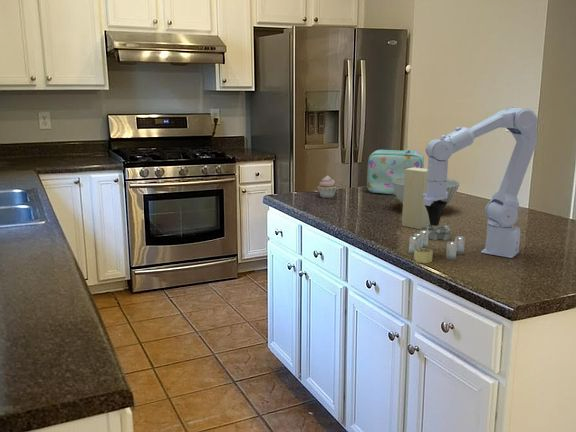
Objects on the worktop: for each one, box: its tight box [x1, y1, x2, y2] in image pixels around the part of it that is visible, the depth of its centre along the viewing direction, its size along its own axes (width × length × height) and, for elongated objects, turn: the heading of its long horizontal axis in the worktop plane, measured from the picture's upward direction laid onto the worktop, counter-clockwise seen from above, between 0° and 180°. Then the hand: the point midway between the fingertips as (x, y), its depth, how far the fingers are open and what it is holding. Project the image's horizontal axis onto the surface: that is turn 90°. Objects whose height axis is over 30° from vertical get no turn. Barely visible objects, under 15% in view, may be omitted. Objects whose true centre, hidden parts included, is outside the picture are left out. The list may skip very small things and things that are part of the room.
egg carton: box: [425, 222, 451, 241], centre depth 195 cm, size 11×8×4 cm
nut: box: [413, 247, 434, 264], centre depth 168 cm, size 5×5×3 cm
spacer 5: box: [454, 235, 466, 255], centre depth 175 cm, size 3×3×5 cm
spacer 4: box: [445, 240, 457, 261], centre depth 170 cm, size 3×3×5 cm
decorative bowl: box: [391, 177, 460, 205], centre depth 233 cm, size 27×27×12 cm
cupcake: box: [316, 175, 339, 199], centre depth 260 cm, size 9×9×10 cm
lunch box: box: [366, 148, 426, 196], centre depth 267 cm, size 27×10×21 cm, turn 72°
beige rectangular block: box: [401, 167, 430, 230], centre depth 207 cm, size 8×7×21 cm
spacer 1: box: [408, 235, 419, 255], centre depth 175 cm, size 3×3×5 cm
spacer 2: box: [413, 232, 423, 248], centre depth 179 cm, size 3×3×5 cm
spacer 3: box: [419, 229, 429, 248], centre depth 183 cm, size 3×3×5 cm
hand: (434, 225), depth 172 cm, fingers closed
